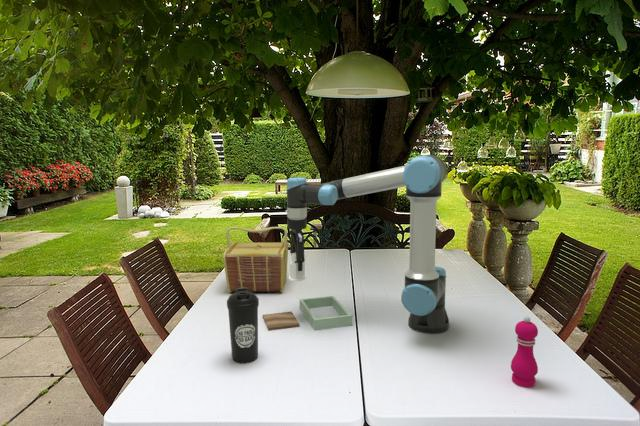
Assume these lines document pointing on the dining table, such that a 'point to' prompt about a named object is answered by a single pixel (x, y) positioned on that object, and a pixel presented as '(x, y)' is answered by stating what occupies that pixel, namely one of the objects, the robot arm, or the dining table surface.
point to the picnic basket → (256, 263)
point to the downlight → (293, 269)
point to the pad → (280, 321)
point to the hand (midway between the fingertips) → (297, 275)
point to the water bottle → (243, 325)
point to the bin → (327, 322)
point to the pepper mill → (525, 354)
